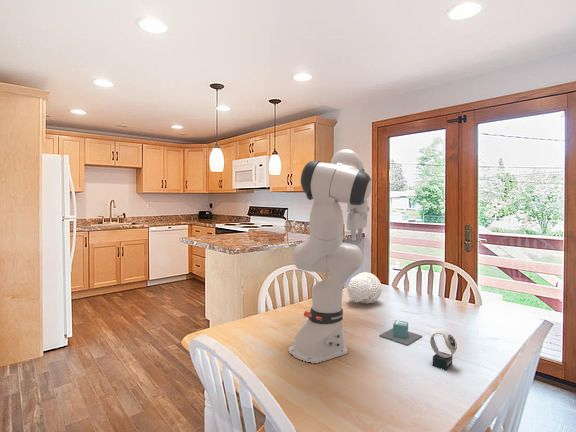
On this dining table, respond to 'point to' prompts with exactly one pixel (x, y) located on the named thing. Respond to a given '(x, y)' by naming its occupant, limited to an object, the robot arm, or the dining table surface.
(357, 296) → the cauliflower
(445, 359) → the watch
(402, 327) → the letter cube
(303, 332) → the robot arm
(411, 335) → the pad
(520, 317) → the dining table surface
